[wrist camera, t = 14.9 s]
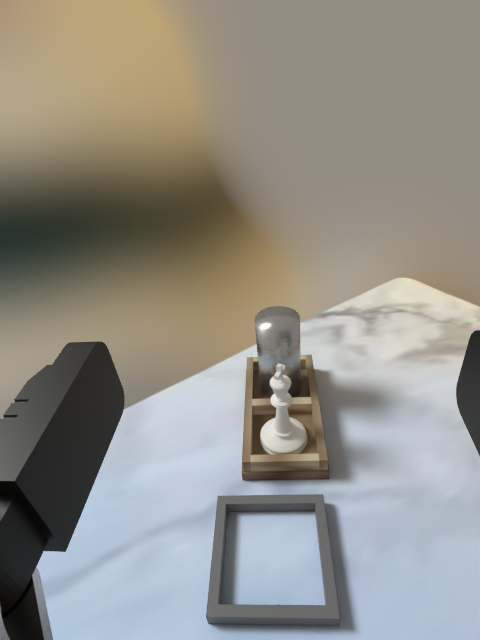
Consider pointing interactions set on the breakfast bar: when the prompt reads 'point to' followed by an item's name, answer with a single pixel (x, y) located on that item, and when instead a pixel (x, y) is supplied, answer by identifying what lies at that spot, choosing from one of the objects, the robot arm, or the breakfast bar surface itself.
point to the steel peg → (278, 347)
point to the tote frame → (271, 612)
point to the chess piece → (282, 420)
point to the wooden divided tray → (302, 409)
